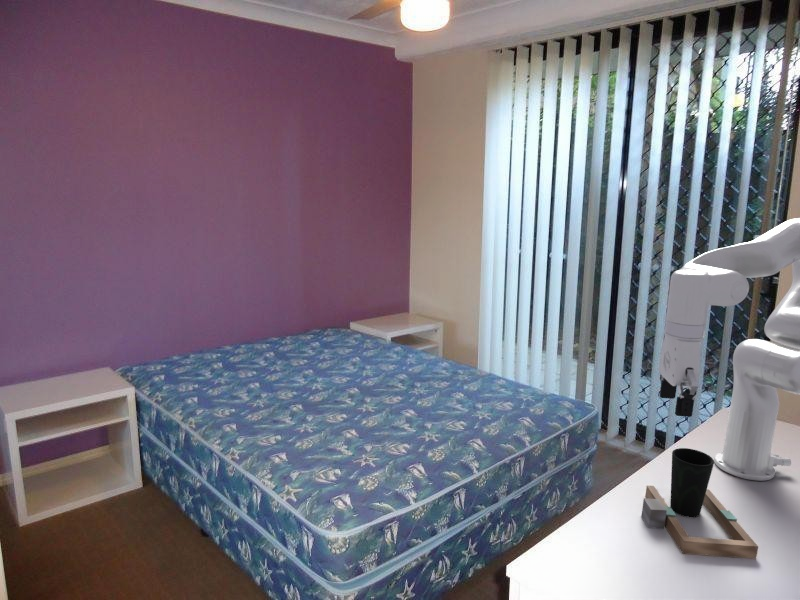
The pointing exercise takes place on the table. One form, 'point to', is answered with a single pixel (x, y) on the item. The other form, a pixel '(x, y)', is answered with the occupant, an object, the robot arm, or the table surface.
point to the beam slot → (739, 546)
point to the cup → (689, 481)
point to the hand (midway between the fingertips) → (674, 406)
